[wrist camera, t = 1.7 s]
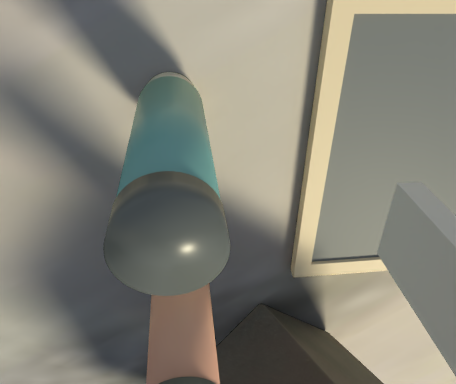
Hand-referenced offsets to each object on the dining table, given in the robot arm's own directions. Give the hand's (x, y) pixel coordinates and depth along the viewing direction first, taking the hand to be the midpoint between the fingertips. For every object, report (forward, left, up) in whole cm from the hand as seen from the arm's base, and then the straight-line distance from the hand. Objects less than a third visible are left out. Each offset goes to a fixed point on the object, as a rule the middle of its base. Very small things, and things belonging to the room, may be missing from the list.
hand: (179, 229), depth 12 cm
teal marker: (0, 0, -12) cm, 12 cm away
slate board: (+16, -4, -12) cm, 20 cm away
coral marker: (0, -10, -12) cm, 16 cm away
